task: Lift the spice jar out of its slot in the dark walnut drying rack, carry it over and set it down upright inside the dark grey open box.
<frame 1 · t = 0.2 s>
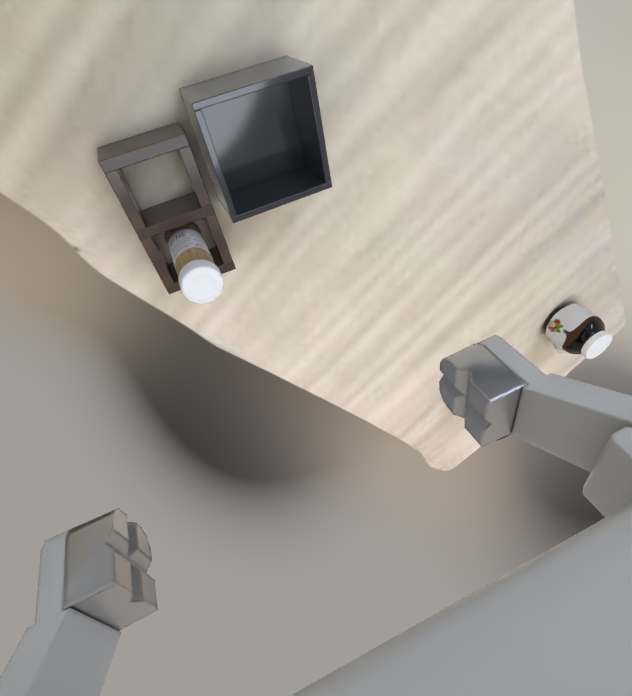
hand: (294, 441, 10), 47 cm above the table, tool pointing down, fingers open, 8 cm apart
dark grey open box: (250, 132, 50), on the table
rack: (170, 205, 52), on the table
spread jar: (557, 321, 103), on the table
spice jar: (182, 233, 55), resting in rack
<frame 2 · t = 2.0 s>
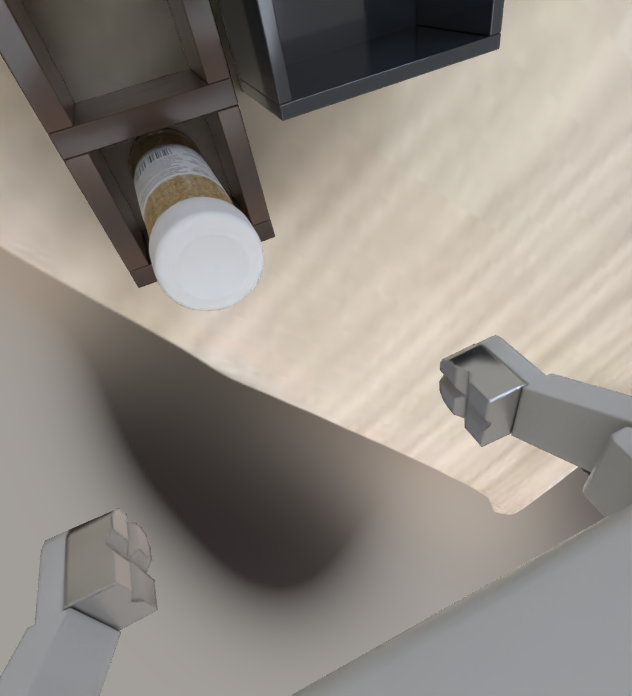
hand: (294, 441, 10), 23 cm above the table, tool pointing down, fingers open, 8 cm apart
rack: (138, 97, 24), on the table
spice jar: (167, 164, 27), resting in rack
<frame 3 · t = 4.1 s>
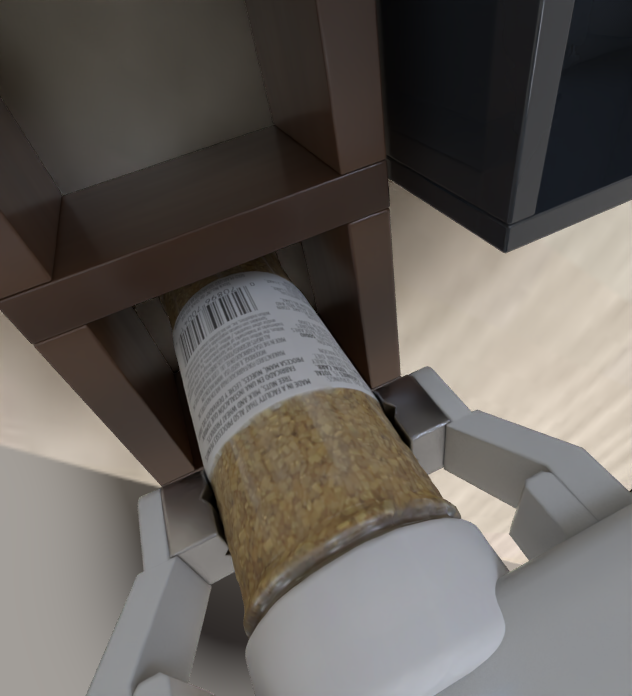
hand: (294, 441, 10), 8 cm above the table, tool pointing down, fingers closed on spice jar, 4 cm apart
rack: (180, 178, 13), on the table
spice jar: (220, 277, 16), resting in rack, touching gripper
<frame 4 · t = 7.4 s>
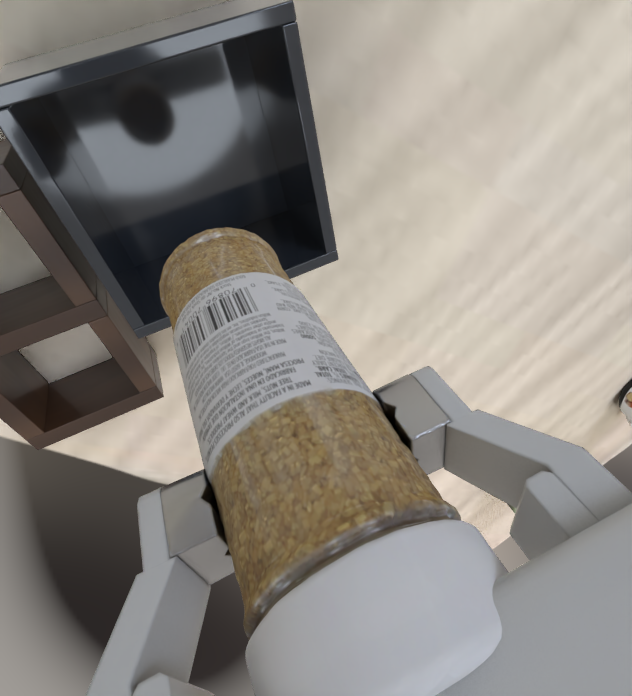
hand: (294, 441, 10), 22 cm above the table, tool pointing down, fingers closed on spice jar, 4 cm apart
dark grey open box: (179, 153, 26), on the table
rack: (32, 292, 27), on the table
spice jar: (221, 277, 16), point 14 cm above the table, touching gripper
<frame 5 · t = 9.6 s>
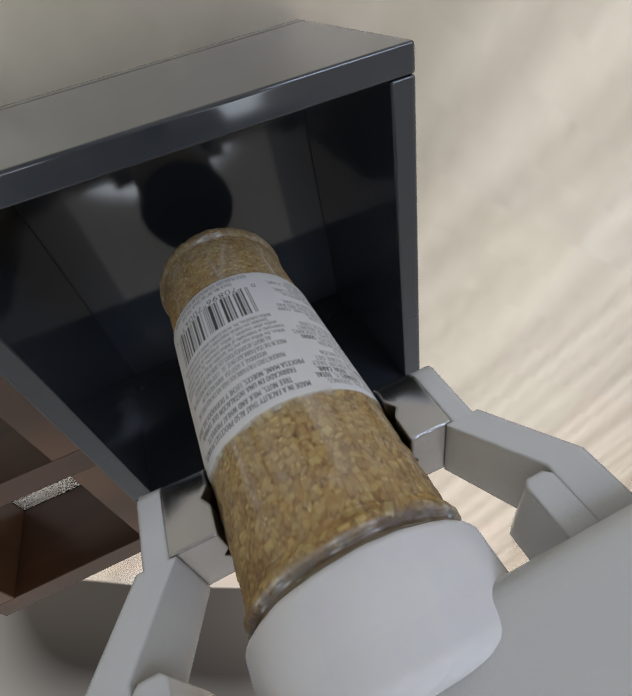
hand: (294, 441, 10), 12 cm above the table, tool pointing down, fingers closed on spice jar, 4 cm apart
dark grey open box: (198, 232, 19), on the table
spice jar: (221, 277, 16), point 4 cm above the table, touching gripper
when the fingers open (8 cm above the table, at t = 10.9 s): spice jar stays where it is, resting on dark grey open box.
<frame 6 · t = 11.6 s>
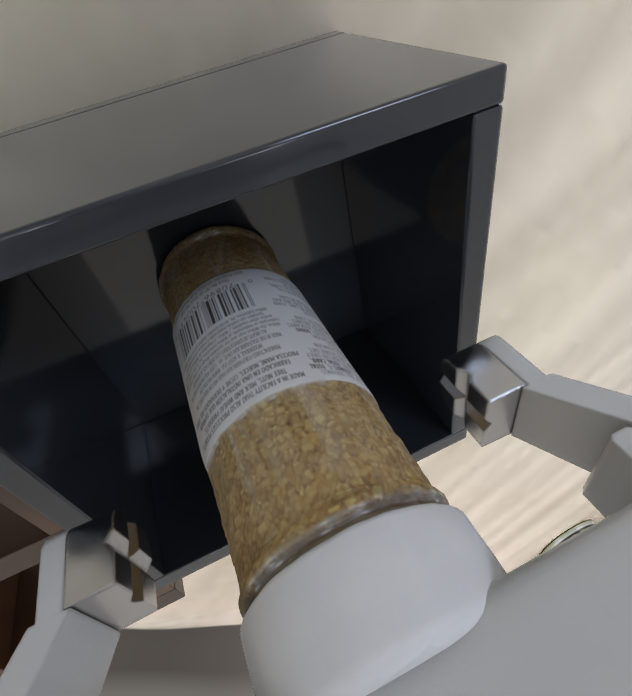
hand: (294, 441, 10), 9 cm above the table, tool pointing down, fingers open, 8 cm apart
dark grey open box: (216, 269, 16), on the table
coffee can: (565, 537, 70), on the table
spice jar: (220, 275, 16), resting on dark grey open box
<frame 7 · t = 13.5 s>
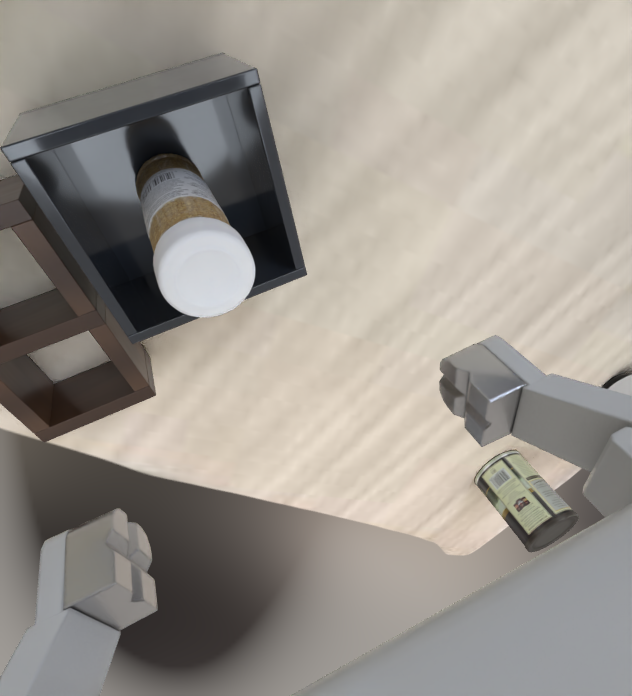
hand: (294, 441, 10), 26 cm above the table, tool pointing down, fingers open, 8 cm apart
dark grey open box: (168, 182, 30), on the table
rack: (40, 302, 31), on the table
coffee can: (496, 467, 82), on the table
spread jar: (611, 391, 81), on the table
spice jar: (170, 185, 29), resting on dark grey open box
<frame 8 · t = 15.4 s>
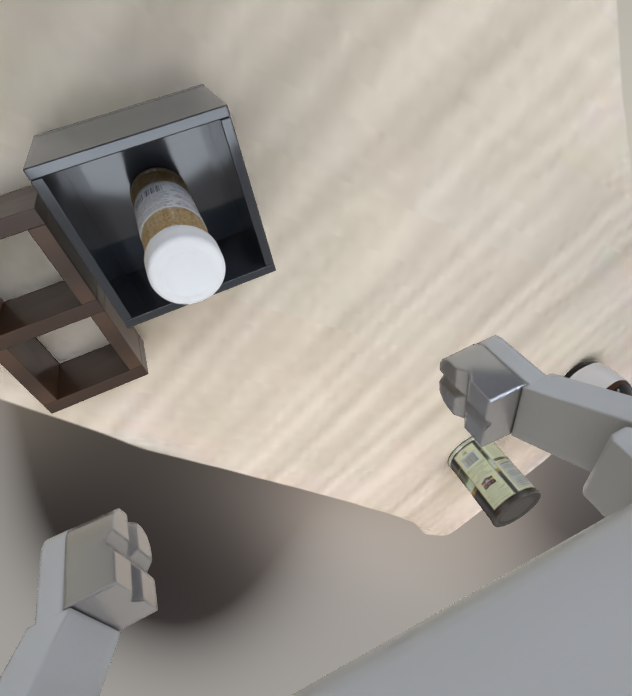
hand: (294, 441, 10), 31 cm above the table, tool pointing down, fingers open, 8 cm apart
dark grey open box: (158, 191, 35), on the table
rack: (48, 293, 37), on the table
coffee can: (468, 450, 88), on the table
spread jar: (575, 379, 87), on the table
spice jar: (160, 193, 35), resting on dark grey open box
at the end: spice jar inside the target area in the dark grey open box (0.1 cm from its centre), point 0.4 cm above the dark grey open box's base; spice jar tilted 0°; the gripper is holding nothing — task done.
